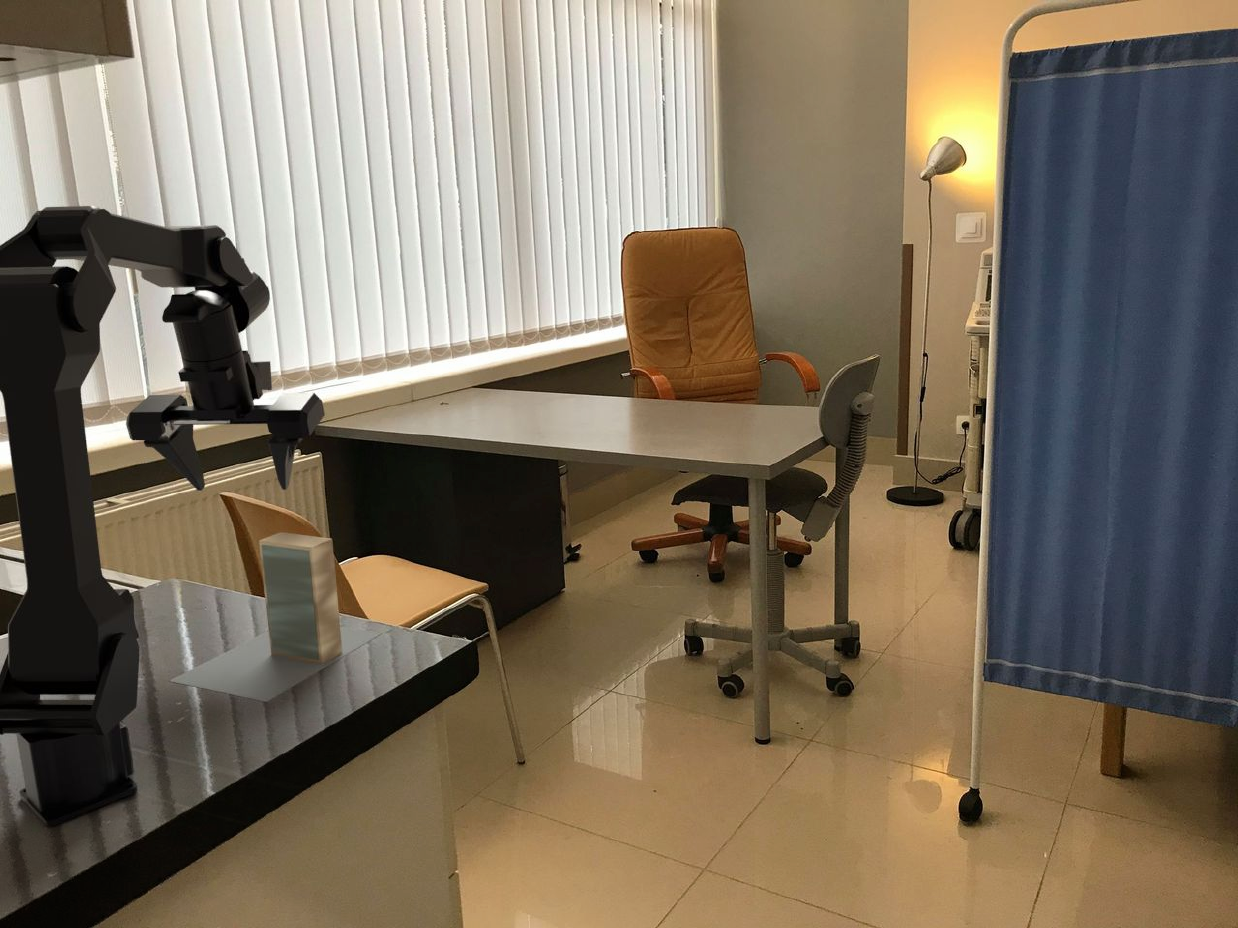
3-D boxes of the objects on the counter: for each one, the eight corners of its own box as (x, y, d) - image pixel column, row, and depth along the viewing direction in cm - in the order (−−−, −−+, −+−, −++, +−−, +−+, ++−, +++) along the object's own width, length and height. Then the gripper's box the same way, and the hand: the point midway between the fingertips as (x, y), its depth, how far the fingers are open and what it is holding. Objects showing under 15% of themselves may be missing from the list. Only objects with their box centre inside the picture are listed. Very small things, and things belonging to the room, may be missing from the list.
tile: (321, 664, 98) (310, 547, 95) (270, 654, 101) (258, 540, 98) (342, 652, 101) (332, 538, 98) (291, 643, 103) (280, 532, 101)
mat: (267, 705, 91) (266, 701, 90) (169, 684, 95) (169, 680, 95) (382, 636, 106) (382, 633, 106) (293, 621, 110) (292, 618, 110)
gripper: (327, 323, 107) (350, 453, 114) (156, 326, 107) (190, 455, 115) (293, 361, 97) (320, 502, 104) (105, 364, 98) (145, 503, 105)
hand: (243, 488), depth 107 cm, fingers open, 9 cm apart
